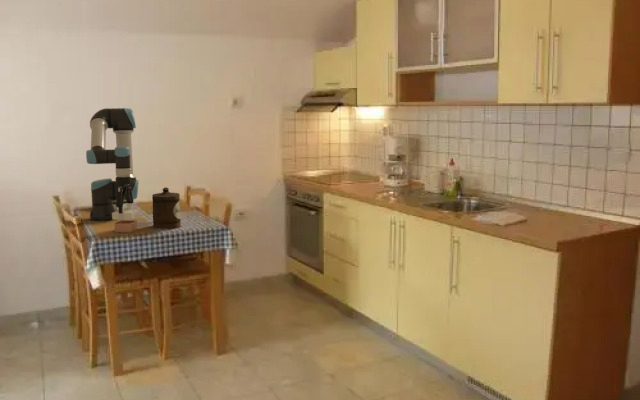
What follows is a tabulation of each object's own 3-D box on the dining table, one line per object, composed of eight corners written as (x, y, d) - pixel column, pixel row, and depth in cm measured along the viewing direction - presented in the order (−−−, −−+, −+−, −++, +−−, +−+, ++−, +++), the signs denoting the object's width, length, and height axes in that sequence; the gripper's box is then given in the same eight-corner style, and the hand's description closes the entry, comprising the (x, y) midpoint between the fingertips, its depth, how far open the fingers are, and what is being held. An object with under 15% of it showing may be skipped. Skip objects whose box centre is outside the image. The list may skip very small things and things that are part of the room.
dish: (114, 232, 316) (114, 223, 315) (121, 229, 325) (121, 220, 324) (131, 233, 315) (131, 223, 314) (137, 229, 324) (137, 220, 323)
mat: (124, 227, 330) (124, 226, 330) (132, 222, 342) (132, 222, 342) (145, 227, 329) (145, 226, 329) (153, 223, 341) (153, 222, 341)
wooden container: (182, 228, 327) (181, 188, 324) (154, 230, 322) (152, 190, 319) (178, 223, 341) (177, 185, 337) (152, 225, 336) (150, 186, 332)
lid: (112, 219, 314) (111, 212, 313) (120, 215, 324) (119, 209, 324) (131, 219, 313) (131, 213, 313) (139, 215, 323) (138, 209, 323)
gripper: (121, 178, 303) (124, 221, 307) (138, 173, 326) (140, 213, 330) (107, 178, 304) (109, 221, 307) (125, 173, 327) (127, 213, 330)
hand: (125, 217), depth 319 cm, fingers closed on lid, 10 cm apart
